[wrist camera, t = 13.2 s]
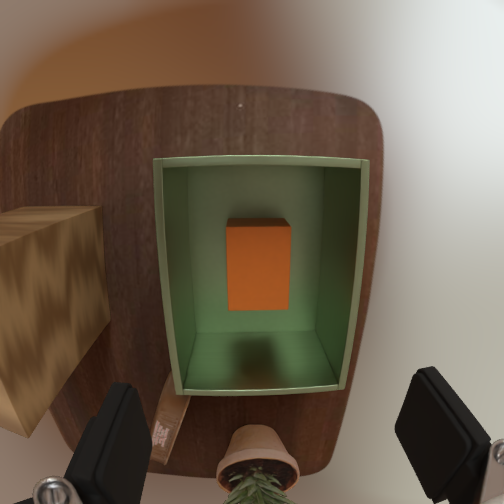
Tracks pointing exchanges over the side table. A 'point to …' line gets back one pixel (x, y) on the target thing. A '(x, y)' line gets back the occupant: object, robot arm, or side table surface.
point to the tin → (167, 420)
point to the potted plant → (257, 467)
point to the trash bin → (301, 271)
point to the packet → (258, 263)
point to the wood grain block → (47, 304)
